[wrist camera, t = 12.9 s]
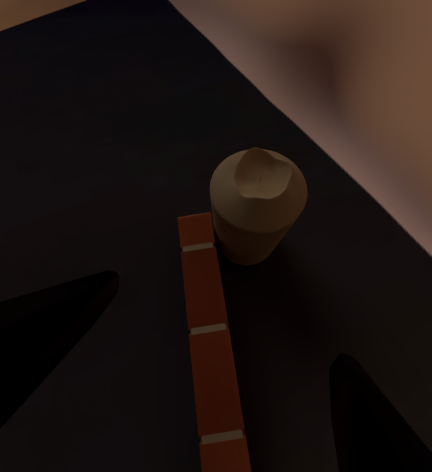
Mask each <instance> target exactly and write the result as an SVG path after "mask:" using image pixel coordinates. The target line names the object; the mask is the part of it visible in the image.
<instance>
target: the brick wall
mask: <svg viewBox="0 0 432 472" xmlns="http://www.w3.org/2000/svg"><path fill="white" fill-rule="evenodd" d="M178 229H179V240H180V248H181V250H182V251H181V261H182V271H183V282H184V292H185V302H186V313H187V323H188V330H191V333H190V334H189V344H190V354H191V364H192V375H193V385H194V396H195V406H196V416H197V427H198V436H199V438H200V443H199V448H200V459H201V469H202V472H252V471H251V465H250V458H249V452H248V446H247V439H246V433H245V427H244V420H243V414H242V408H241V401H240V395H239V389H238V382H237V376H236V370H235V363H234V357H233V350H232V344H231V338H230V331H229V326H228V319H227V312H226V306H225V300H224V293H223V287H222V281H221V274H220V268H219V262H218V255H217V249H216V243H215V236H214V230H213V223H212V217H211V213H210V212H209V213H203V214H196V215H190V216H183V217H178Z"/></svg>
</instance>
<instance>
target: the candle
mask: <svg viewBox="0 0 432 472" xmlns="http://www.w3.org/2000/svg"><path fill="white" fill-rule="evenodd" d="M210 196H211V204H212V212H213V220H214V227H215V235H216V241H217V245H218V248H219V250H220V251H221V253H222V254H223V255H224V256H225V257H226V258H227V259H228V260H230V261H231V262H233V263H236V264H239V265H253V264H257V263H259V262H261V261H263V260H264V259H266V258H267V257H268V256H269V255H270V254H271V252H272V251H273V250H274V248H275V247H276V246H277V244H278V243H279V242H280V240H281V239H282V238H283V236H284V235H285V234H286V232H287V231H288V230H289V228H290V227H291V226H292V224H293V223H294V222H295V220H296V219H297V218H298V216H299V215H300V213H301V212H302V210H303V208H304V206H305V203H306V200H307V185H306V182H305V179H304V177H303V174H302V173H301V171H300V170H299V168H298V167H297V166H296V165H295V164H294V163H293V162H292V161H290V160H289V159H288V158H286V157H284V156H283V155H281V154H279V153H276V152H273V151H270V150H264V149H260V148H251V149H249V150H245V151H241V152H238V153H235V154H233V155H231V156H229V157H228V158H226V159H225V160H224V161H223V162H222V163H221V164H220V165H219V166H218V167H217V169H216V170H215V172H214V174H213V176H212V179H211V183H210Z"/></svg>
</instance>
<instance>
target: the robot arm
mask: <svg viewBox="0 0 432 472" xmlns="http://www.w3.org/2000/svg"><path fill="white" fill-rule="evenodd" d="M118 289H119V275H118V273H116V272H113V271H110V270H107V271H104V272H100V273H97V274H94V275H90V276H87V277H83V278H80V279H77V280H73V281H70V282H66V283H63V284H60V285H56V286H53V287H50V288H46V289H43V290H39V291H36V292H33V293H29V294H26V295H22V296H19V297H16V298H12V299H9V300H5V301H2V302H0V428H1V427H2V426H3V425H4V424H5V423H6V422H7V420H8V419H9V418H10V417H11V416H12V415H13V414H14V413H15V412H16V410H17V409H18V408H19V407H20V406H21V405H22V404H23V403H24V402H25V400H26V399H27V398H28V397H29V396H30V395H31V394H32V393H33V392H34V390H35V389H36V388H37V387H38V386H39V385H40V384H41V383H42V382H43V380H44V379H45V378H46V377H47V376H48V375H49V374H50V373H51V372H52V370H53V369H54V368H55V367H56V366H57V365H58V364H59V363H60V362H61V360H62V359H63V358H64V357H65V356H66V355H67V354H68V353H69V352H70V350H71V349H72V348H73V347H74V346H75V345H76V344H77V343H78V341H79V340H80V339H81V338H82V337H83V336H84V335H85V334H86V333H87V331H88V330H89V329H90V328H91V327H92V326H93V325H94V323H95V322H96V321H97V320H98V318H99V317H100V315H101V314H102V313H103V311H104V310H105V309H106V307H107V306H108V305H109V303H110V302H111V301H112V299H113V298H114V297H115V295H116V294H117V292H118ZM329 378H330V398H331V416H332V426H333V433H334V440H335V446H336V453H337V460H338V466H339V472H432V453H431V451H430V450H429V449H428V448H427V446H426V445H425V444H424V443H423V442H422V440H421V439H420V438H419V437H418V435H417V434H416V433H415V432H414V430H413V429H412V428H411V427H410V426H409V424H408V423H407V422H406V421H405V419H404V418H403V417H402V416H401V414H400V413H399V412H398V411H397V410H396V408H395V407H394V406H393V405H392V403H391V402H390V401H389V400H388V398H387V397H386V396H385V395H384V394H383V392H382V391H381V390H380V389H379V387H378V386H377V385H376V384H375V382H374V381H373V380H372V379H371V378H370V376H369V375H368V374H367V373H366V371H365V370H364V369H363V368H362V366H361V365H360V364H359V363H358V361H357V360H356V359H355V358H354V357H352V356H349V355H347V354H344V353H341V354H339V355H338V357H337V358H336V359H335V361H334V362H333V364H332V365H331V367H330V370H329Z"/></svg>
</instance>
